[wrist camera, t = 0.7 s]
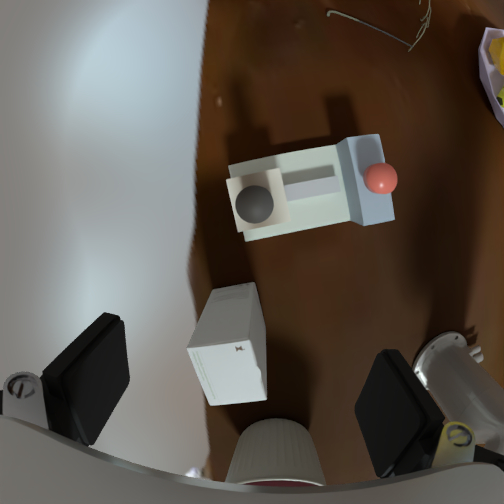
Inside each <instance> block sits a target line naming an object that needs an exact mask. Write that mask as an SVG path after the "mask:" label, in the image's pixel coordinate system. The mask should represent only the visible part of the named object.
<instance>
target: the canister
mask: <svg viewBox="0 0 504 504" xmlns="http://www.w3.org/2000/svg"><path fill="white" fill-rule="evenodd" d="M225 483H233V484H243V485H255V486H277V487H304V486H327V485H326V483H325V479H324V476H323V472H322V469H321V465H320V462H319V459H318V455H317V452H316V449H315V446H314V443H313V440H312V438H311V435H310V434H309V432H308V431H307V430H306V428H305V427H304V426H302V425H301V424H299V423H297V422H295V421H292V420H287V419H282V418H280V419H278V418H274V419H271V418H270V419H265V420H260V421H259V422H255V423H254V424H252V425H250V426H249V427H247V428H246V430H244V431H243V433H242V434H241V436H240V438H239V440H238V443H237V446H236V449H235V452H234V455H233V458H232V462H231V465H230V468H229V471H228V475H227V478H226V481H225Z"/></svg>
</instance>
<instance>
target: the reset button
mask: <svg viewBox="0 0 504 504" xmlns="http://www.w3.org/2000/svg"><path fill="white" fill-rule="evenodd" d="M363 181H364V184H365V186H366V188H367V189H368V190H369V191H371V192H372V193H376V194H388V193H390V192H392V191H393V190H394V189H395V187H396V185H397V174H396V172H395V170H394V168H393V167H392V166H390V165H389V164H387V163H377V164H372V165H370V166H368V167H367V168H366V169H365V171H364V174H363Z"/></svg>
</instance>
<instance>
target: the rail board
mask: <svg viewBox="0 0 504 504" xmlns="http://www.w3.org/2000/svg"><path fill="white" fill-rule="evenodd" d="M377 163H385V159H384V155H383V150H382V146H381V141H380V137H379V134H372V135H364V136H355V137H347V138H345V139H344V140H342V141H341V142H339V143H337V144H336V145H330V146H324V147H318V148H312V149H306V150H300V151H295V152H289V153H284V154H279V155H274V156H269V157H264V158H260V159H255V160H251V161H246V162H242V163H237V164H233V165H229V166H228V167H229V172H230V176H231V178H235V177H239V176H244V175H248V174H253V173H257V172H262V171H266V170H271V169H276V168H280V172H281V176H282V180H283V185H284V190H285V194H286V199H287V204H288V208H289V213H290V218H291V221H290V222H285V223H280V224H275V225H270V226H265V227H261V228H256V229H251V230H246V231H243V233H244V238H245V242H246V241H251V240H256V239H261V238H266V237H271V236H275V235H280V234H285V233H290V232H295V231H300V230H305V229H310V228H315V227H320V226H325V225H330V224H335V223H340V222H345V221H350V220H351V221H353V222H356V223H358V224H361V225H363V226H366V225H371V224H376V223H381V222H386V221H391V220H395V218H394V211H393V204H392V197H391V192H390V193H388V194H376V193H372V192H371V191H369V190H368V189H367V188H366V186H365V184H364V181H363V174H364V171H365V169H366V168H367V167H368V166H370V165H372V164H377Z"/></svg>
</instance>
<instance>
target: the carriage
mask: <svg viewBox="0 0 504 504" xmlns="http://www.w3.org/2000/svg"><path fill="white" fill-rule="evenodd" d="M226 182H227V187H228V191H229V195H230V200H231V204H232V209H233V213H234V217H235V222H236V226H237V230H238V232H242V231H246V230H251V229H256V228H261V227H265V226H270V225H275V224H280V223H285V222H290V221H291V218H290V213H289V208H288V204H287V199H286V194H285V190H284V185H283V180H282V176H281V172H280V168H276V169H271V170H266V171H262V172H257V173H253V174H248V175H244V176H239V177H235V178H231V179H226Z"/></svg>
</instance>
